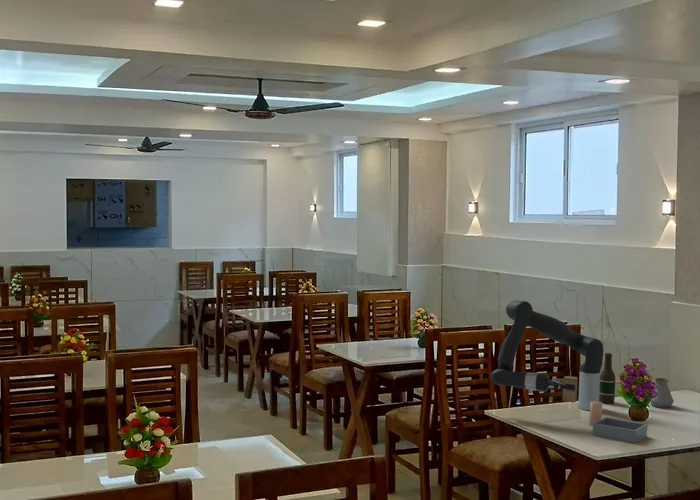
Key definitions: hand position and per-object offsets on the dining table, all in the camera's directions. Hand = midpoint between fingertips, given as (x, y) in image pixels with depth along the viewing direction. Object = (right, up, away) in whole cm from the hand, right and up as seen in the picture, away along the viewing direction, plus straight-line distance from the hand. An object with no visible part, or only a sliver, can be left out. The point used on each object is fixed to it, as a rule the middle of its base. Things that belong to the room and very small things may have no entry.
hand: (576, 386), depth 351 cm
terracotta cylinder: (+9, -17, +3) cm, 20 cm away
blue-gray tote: (+14, -18, -14) cm, 27 cm away
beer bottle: (+28, -16, +47) cm, 56 cm away
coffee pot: (+48, -17, +40) cm, 64 cm away
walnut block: (-2, -6, +2) cm, 7 cm away
